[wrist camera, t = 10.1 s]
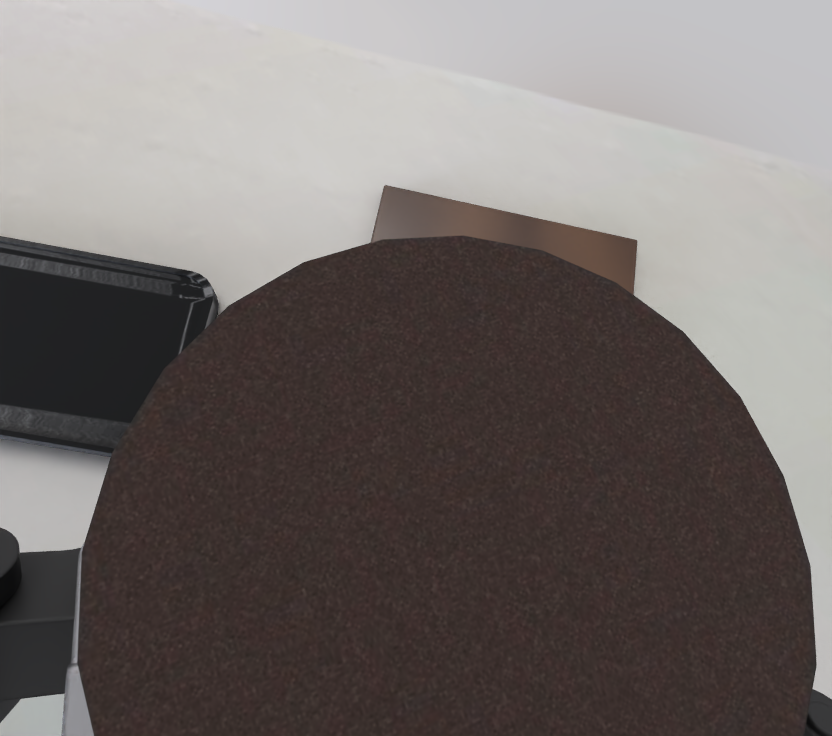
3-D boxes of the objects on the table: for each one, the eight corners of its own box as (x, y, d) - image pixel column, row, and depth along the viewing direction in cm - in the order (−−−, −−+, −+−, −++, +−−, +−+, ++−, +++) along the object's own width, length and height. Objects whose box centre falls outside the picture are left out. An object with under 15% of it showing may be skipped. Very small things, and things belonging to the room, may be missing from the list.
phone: (166, 462, 23) (-255, 391, 22) (174, 467, 24) (-228, 400, 23) (220, 274, 26) (-156, 204, 25) (225, 286, 27) (-135, 219, 26)
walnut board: (330, 417, 26) (330, 413, 25) (383, 191, 29) (384, 184, 29) (615, 474, 26) (620, 472, 25) (632, 246, 30) (637, 239, 29)
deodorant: (409, 720, 18) (650, 1249, 4) (237, 608, 18) (-114, 713, 4) (504, 538, 20) (898, 444, 6) (346, 440, 20) (354, 132, 6)
